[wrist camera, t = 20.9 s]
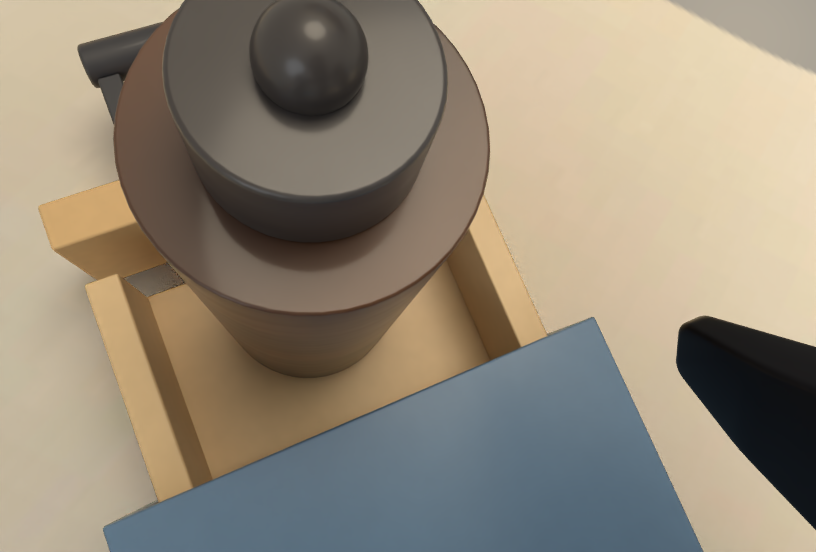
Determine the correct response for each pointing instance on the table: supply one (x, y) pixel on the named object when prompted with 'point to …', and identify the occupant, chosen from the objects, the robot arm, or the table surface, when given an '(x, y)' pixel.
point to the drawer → (225, 358)
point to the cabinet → (450, 472)
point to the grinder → (302, 166)
